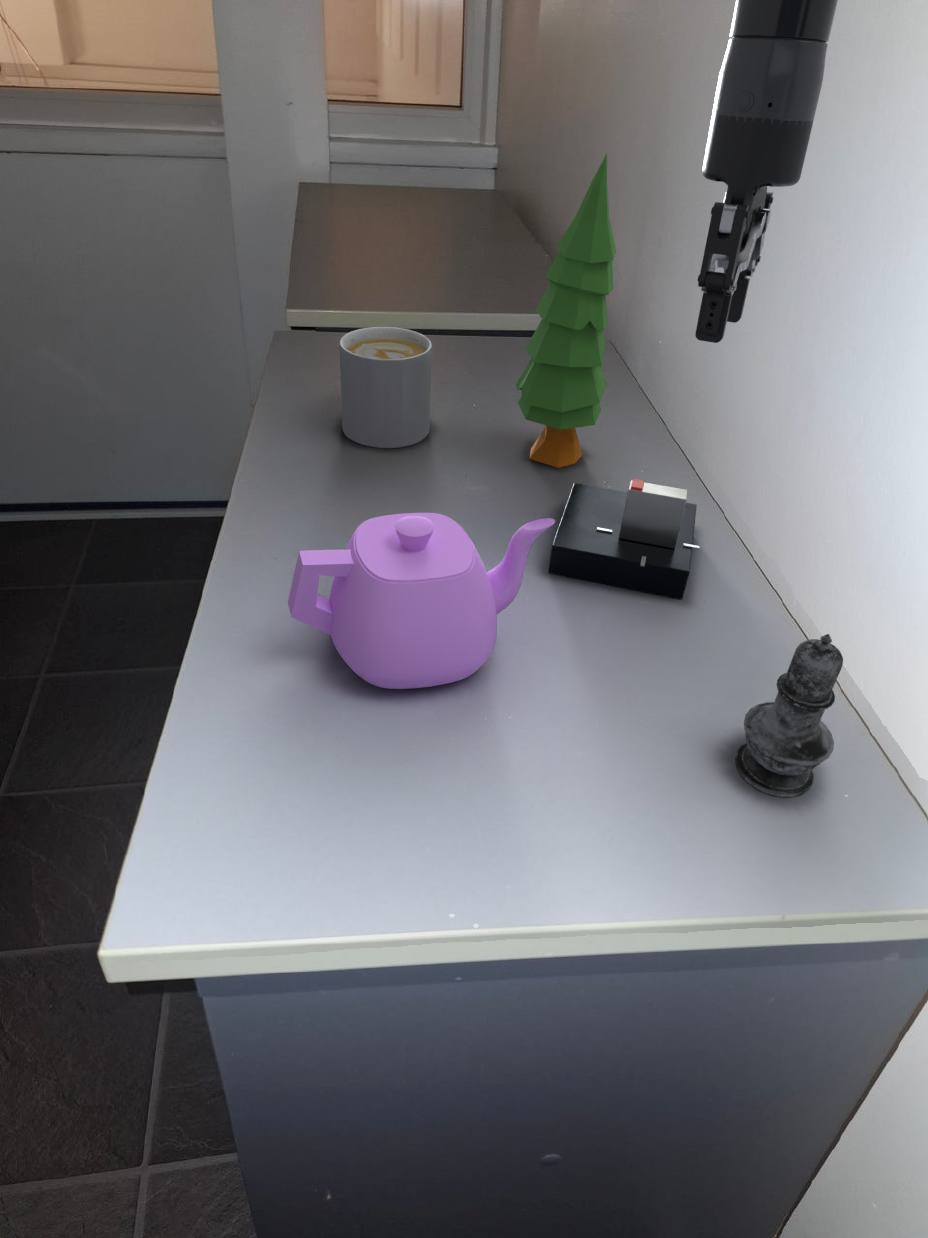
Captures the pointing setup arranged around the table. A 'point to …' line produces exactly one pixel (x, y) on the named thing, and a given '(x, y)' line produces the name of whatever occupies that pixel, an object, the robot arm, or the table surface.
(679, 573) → the hob panel
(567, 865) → the table surface
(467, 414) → the table surface
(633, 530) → the hob knob
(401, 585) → the teapot
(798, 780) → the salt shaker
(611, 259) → the decorative tree
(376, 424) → the coffee mug
